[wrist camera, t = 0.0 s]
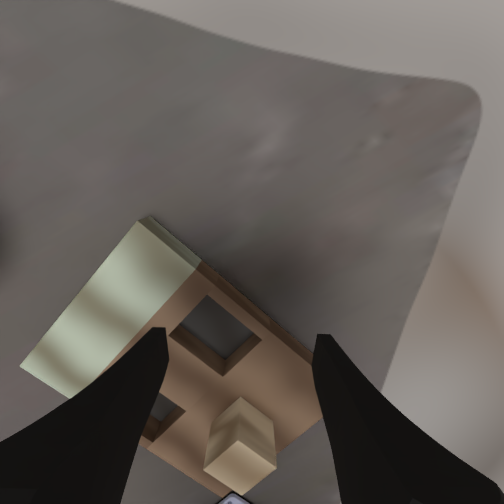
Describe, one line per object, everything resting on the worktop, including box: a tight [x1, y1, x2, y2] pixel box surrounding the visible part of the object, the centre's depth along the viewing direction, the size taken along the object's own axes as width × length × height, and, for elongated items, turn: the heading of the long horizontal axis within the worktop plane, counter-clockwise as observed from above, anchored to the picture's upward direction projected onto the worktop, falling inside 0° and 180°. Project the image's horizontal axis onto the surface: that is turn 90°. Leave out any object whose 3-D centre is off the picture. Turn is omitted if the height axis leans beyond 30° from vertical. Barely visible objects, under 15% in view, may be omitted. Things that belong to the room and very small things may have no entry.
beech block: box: [203, 397, 277, 496], centre depth 22 cm, size 4×4×4 cm
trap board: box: [20, 216, 323, 498], centre depth 24 cm, size 17×23×2 cm
